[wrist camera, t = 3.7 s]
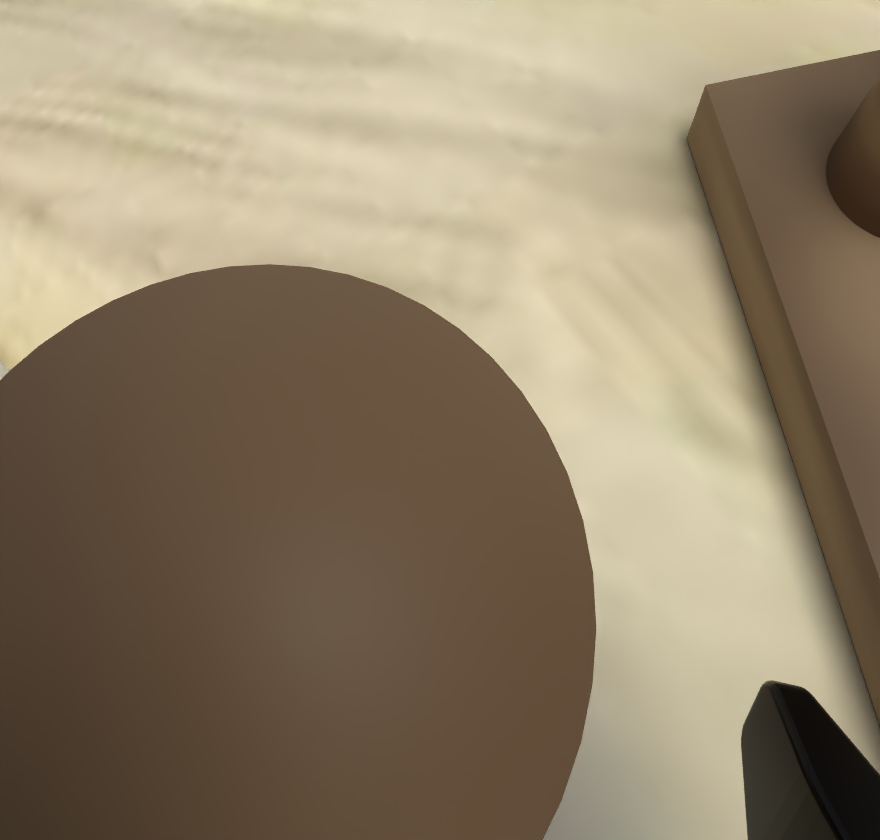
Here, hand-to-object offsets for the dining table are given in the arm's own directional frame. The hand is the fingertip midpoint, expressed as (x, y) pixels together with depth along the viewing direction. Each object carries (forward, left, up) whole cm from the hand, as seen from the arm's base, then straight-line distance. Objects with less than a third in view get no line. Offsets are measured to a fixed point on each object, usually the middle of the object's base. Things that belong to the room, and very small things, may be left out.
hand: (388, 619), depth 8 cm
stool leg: (0, 0, -8) cm, 8 cm away
